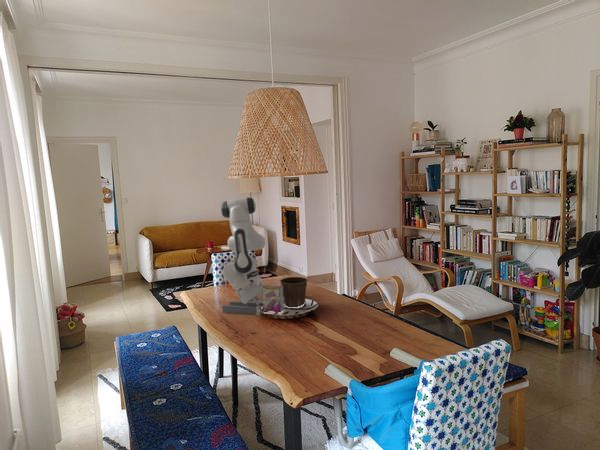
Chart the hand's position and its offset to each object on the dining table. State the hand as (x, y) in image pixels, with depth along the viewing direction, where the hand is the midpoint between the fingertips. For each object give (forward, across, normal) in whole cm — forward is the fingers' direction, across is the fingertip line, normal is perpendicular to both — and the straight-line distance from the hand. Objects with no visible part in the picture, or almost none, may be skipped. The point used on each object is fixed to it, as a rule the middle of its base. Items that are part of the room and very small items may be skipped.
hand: (259, 303), depth 257 cm
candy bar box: (+10, -2, -3) cm, 10 cm away
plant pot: (+15, +14, -8) cm, 22 cm away
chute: (-4, 0, +10) cm, 11 cm away
